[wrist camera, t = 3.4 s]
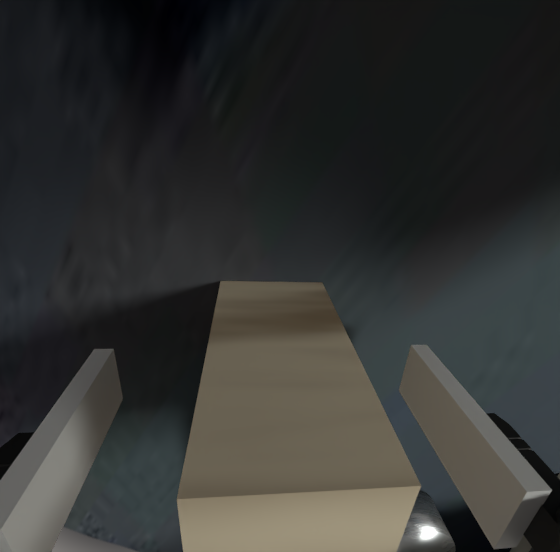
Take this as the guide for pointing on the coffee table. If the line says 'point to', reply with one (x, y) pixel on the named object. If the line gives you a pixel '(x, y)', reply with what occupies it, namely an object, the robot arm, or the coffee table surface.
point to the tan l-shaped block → (289, 434)
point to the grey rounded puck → (425, 529)
